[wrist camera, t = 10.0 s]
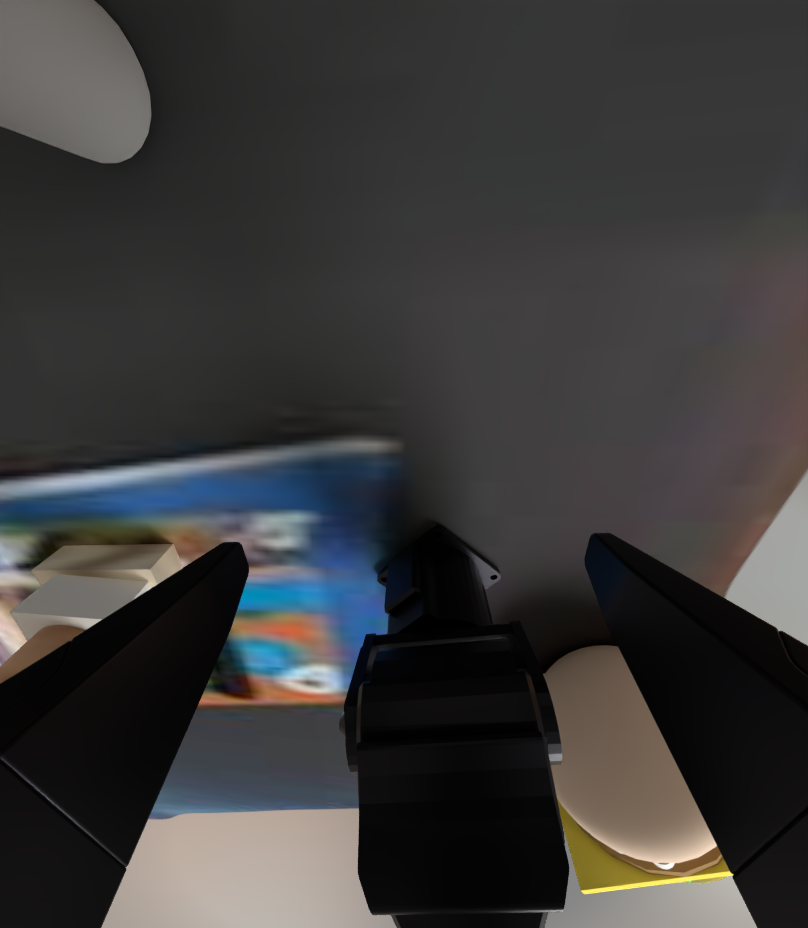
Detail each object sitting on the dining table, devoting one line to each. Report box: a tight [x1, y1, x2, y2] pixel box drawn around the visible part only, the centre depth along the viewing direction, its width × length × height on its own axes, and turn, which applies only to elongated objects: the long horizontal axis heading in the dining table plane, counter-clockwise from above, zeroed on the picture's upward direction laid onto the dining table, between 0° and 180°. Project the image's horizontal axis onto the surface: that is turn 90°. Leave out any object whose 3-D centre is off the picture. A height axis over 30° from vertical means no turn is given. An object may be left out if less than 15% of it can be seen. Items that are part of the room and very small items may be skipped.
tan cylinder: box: [0, 625, 85, 683], centre depth 20 cm, size 5×5×5 cm
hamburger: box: [543, 645, 733, 894], centre depth 25 cm, size 12×8×12 cm
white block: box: [10, 574, 151, 641], centre depth 23 cm, size 6×6×3 cm
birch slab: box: [31, 544, 183, 588], centre depth 26 cm, size 8×8×3 cm
